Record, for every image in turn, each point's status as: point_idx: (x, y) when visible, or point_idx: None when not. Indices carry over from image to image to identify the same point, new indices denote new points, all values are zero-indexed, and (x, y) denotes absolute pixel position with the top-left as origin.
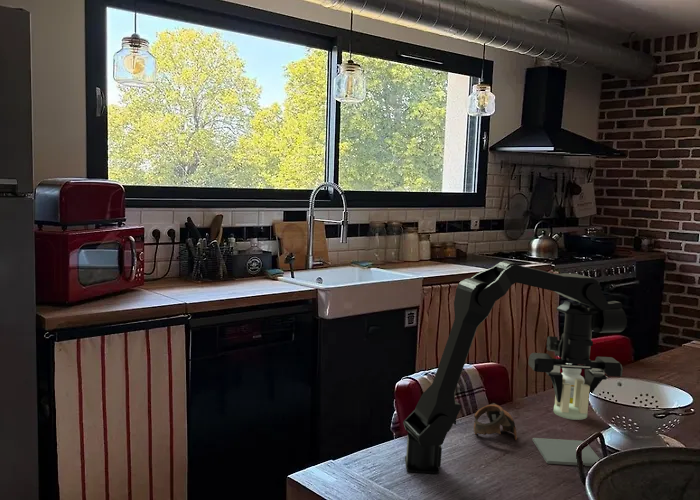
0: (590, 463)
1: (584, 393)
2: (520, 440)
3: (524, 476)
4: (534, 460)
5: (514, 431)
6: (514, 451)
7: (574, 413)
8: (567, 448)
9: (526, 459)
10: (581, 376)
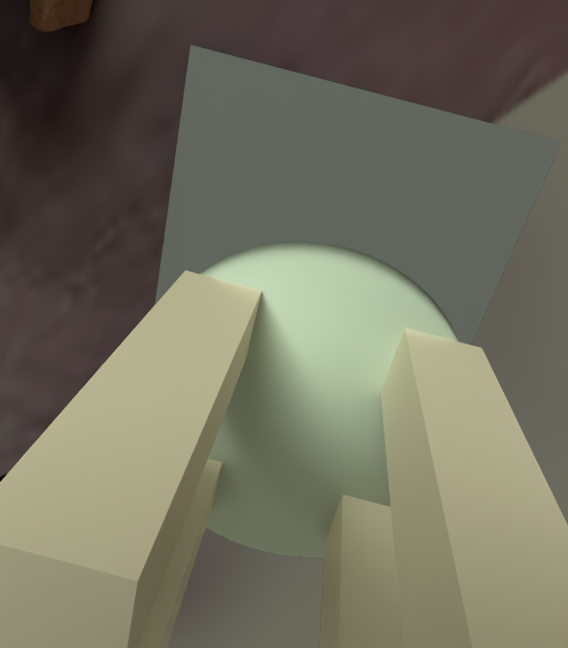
0: None
1: None
2: (110, 38)
3: (7, 440)
4: (101, 318)
5: (32, 17)
6: (25, 203)
7: (259, 534)
8: (345, 245)
9: (63, 302)
10: None
